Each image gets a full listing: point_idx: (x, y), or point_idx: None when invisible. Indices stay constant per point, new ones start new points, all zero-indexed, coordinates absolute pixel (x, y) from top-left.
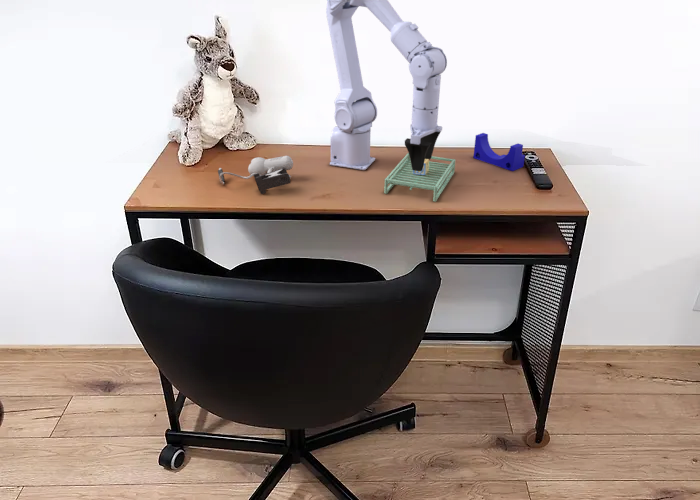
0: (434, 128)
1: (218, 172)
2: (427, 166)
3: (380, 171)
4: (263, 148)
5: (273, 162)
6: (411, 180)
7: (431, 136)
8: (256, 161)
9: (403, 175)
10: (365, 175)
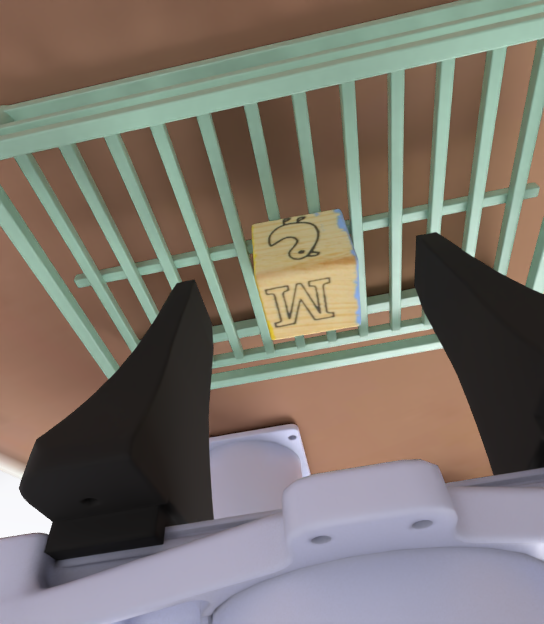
0: (453, 549)
1: None
2: (293, 243)
3: (265, 388)
4: None
5: None
6: None
7: (174, 437)
8: None
9: (364, 301)
10: (333, 402)
